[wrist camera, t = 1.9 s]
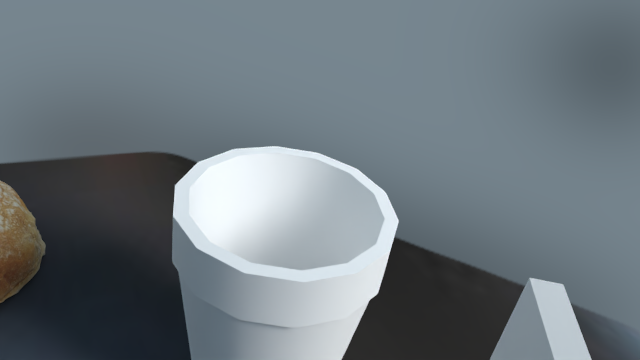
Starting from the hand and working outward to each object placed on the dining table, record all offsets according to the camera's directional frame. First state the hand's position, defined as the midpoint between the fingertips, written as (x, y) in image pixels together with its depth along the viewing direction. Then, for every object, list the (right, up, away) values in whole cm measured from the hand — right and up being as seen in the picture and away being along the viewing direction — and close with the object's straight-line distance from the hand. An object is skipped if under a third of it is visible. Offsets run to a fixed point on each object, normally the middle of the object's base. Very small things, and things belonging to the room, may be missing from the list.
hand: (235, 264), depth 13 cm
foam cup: (-1, -10, +18) cm, 21 cm away
